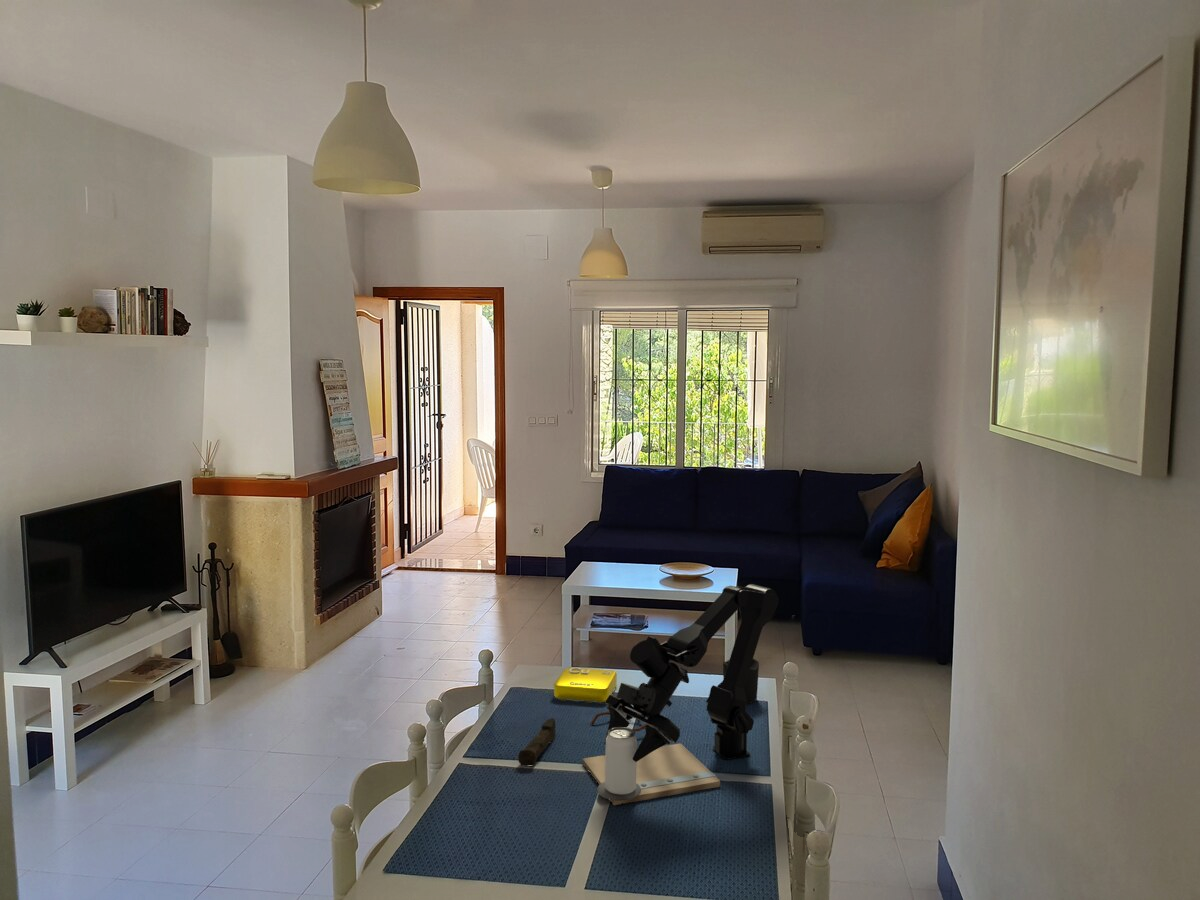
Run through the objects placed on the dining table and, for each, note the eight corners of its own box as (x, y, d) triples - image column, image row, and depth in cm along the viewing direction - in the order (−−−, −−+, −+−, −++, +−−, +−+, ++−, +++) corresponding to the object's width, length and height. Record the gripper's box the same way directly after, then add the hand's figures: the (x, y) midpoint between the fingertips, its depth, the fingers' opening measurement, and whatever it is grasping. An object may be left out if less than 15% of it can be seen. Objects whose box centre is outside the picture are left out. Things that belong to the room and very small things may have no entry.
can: (618, 799, 178) (620, 741, 177) (598, 787, 183) (599, 731, 182) (642, 789, 182) (643, 733, 181) (621, 778, 187) (622, 723, 186)
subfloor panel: (680, 748, 205) (680, 742, 205) (722, 788, 186) (722, 782, 185) (574, 765, 197) (574, 759, 197) (605, 809, 177) (605, 802, 177)
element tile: (552, 701, 236) (552, 683, 235) (566, 681, 250) (565, 665, 250) (607, 705, 233) (607, 687, 232) (618, 685, 247) (617, 668, 247)
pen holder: (718, 692, 240) (719, 657, 239) (752, 691, 241) (753, 655, 240) (727, 706, 231) (728, 668, 230) (762, 704, 232) (763, 667, 231)
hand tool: (534, 768, 195) (534, 748, 195) (517, 766, 197) (517, 746, 196) (565, 735, 213) (565, 716, 213) (549, 733, 215) (549, 714, 214)
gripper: (611, 656, 191) (570, 719, 185) (669, 680, 176) (627, 749, 171) (639, 684, 197) (600, 745, 191) (698, 709, 182) (657, 776, 176)
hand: (619, 752), depth 182 cm, fingers open, 9 cm apart
